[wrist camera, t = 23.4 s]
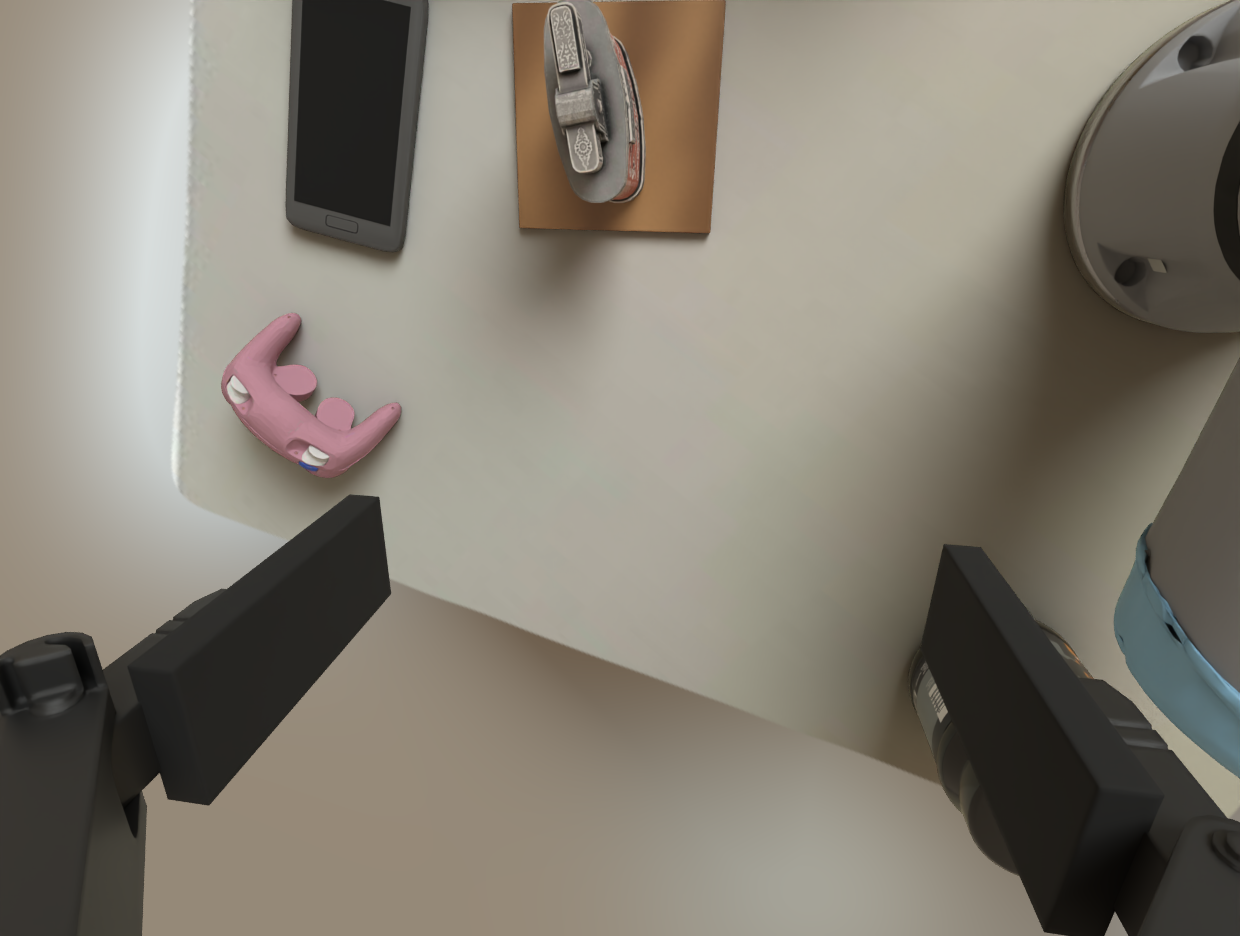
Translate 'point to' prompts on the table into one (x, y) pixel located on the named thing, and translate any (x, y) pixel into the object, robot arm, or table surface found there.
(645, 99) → the mat
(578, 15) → the lighter
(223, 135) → the table surface
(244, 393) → the video game controller
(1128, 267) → the robot arm
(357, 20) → the cell phone
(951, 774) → the supplement container
